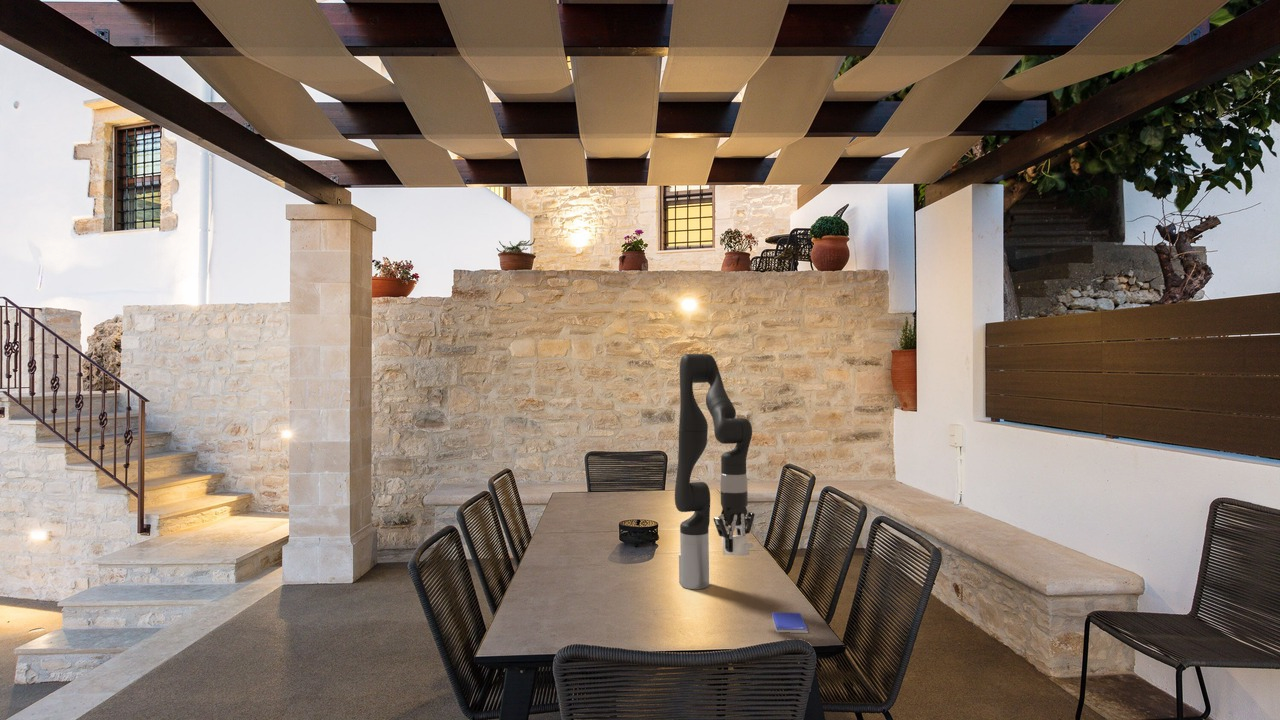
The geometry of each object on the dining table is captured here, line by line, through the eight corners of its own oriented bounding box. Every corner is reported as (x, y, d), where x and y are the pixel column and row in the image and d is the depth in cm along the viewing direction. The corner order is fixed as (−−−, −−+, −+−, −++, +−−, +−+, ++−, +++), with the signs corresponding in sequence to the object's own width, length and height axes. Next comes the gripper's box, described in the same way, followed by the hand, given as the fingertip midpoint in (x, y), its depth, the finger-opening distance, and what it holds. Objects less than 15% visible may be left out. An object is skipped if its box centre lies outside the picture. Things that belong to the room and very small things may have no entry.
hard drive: (808, 629, 184) (800, 612, 196) (776, 628, 185) (771, 612, 197) (808, 635, 184) (800, 618, 196) (777, 634, 184) (771, 617, 197)
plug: (721, 554, 198) (718, 536, 198) (730, 552, 199) (727, 535, 200) (747, 556, 188) (745, 537, 189) (756, 554, 190) (754, 535, 191)
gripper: (743, 484, 202) (744, 544, 202) (706, 490, 195) (706, 551, 194) (761, 488, 196) (762, 549, 196) (723, 494, 188) (724, 557, 188)
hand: (734, 550), depth 195 cm, fingers closed on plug, 3 cm apart
